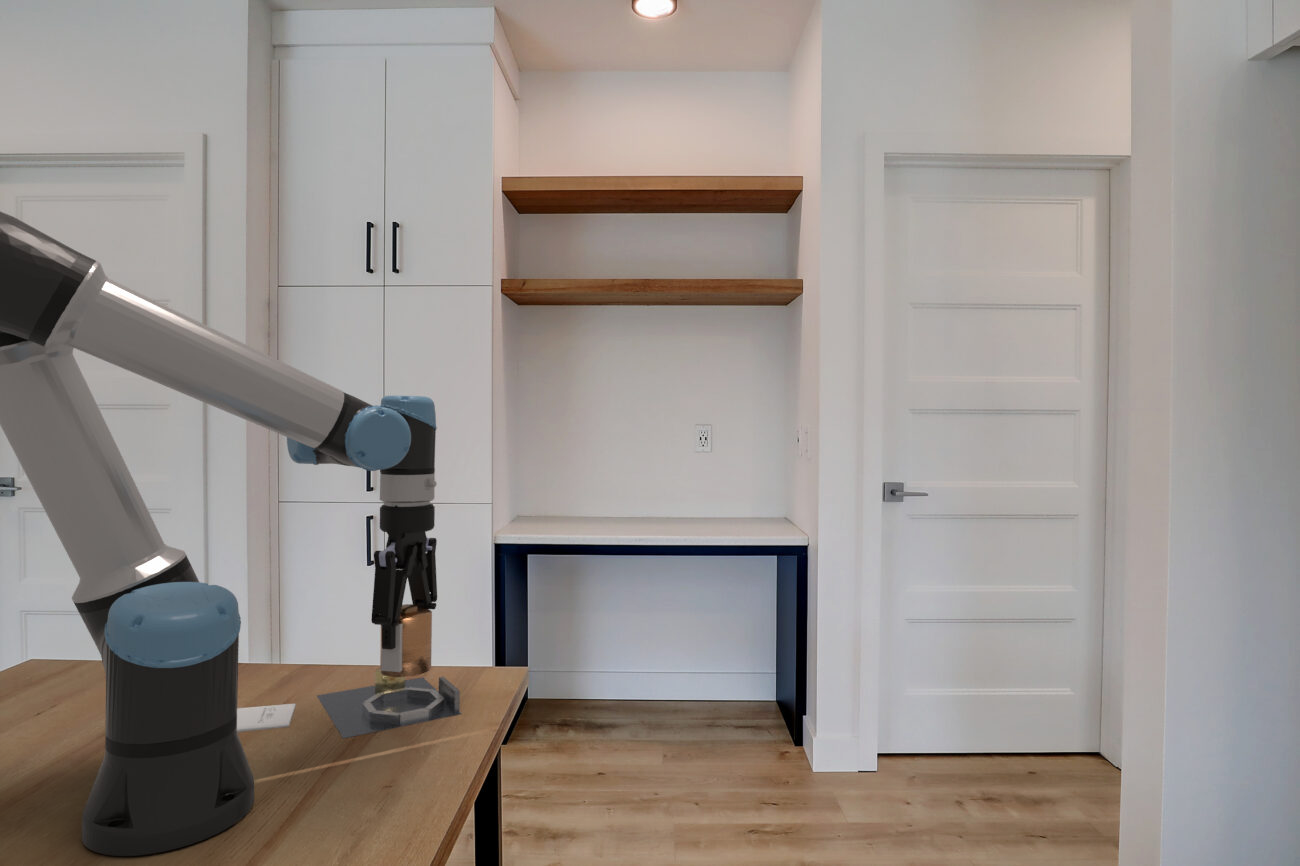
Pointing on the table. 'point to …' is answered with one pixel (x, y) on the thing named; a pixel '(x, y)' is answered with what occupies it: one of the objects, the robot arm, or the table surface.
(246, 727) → the external hard drive
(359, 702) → the plate
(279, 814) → the table surface
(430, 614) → the copper knobbed cylinder
